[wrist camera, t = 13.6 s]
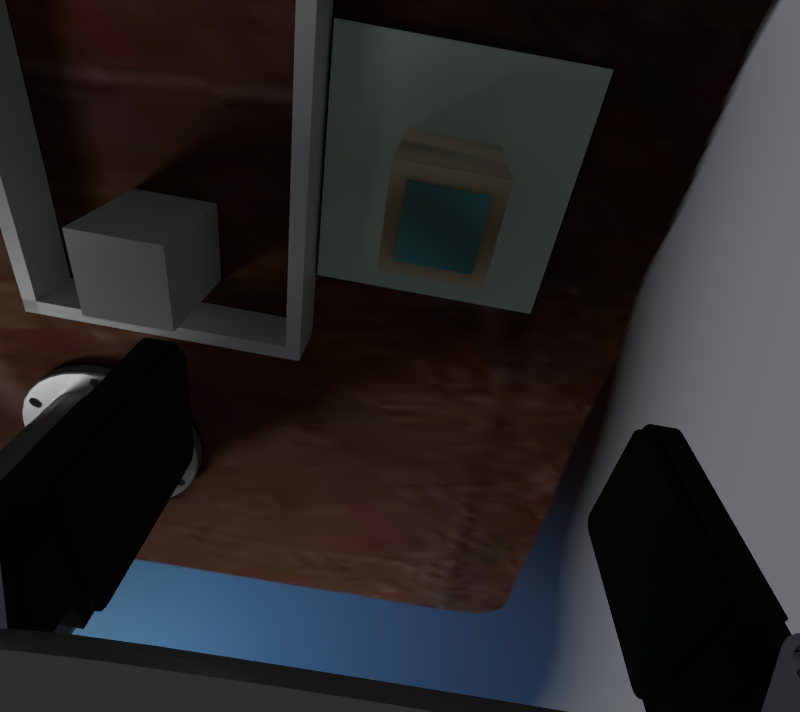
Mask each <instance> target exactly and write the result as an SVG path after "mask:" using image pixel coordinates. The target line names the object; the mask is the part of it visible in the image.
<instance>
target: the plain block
mask: <svg viewBox="0 0 800 712" xmlns="http://www.w3.org/2000/svg"><path fill="white" fill-rule="evenodd" d="M62 230H63V234H64V239H65V243H66V247H67V251H68V256H69V260H70V264H71V268H72V273H73V277H74V281H75V285H76V290H77V294H78V298H79V302H80V307H81V311H82V315H83V316H86V317H92V318H98V319H103V320H109V321H114V322H120V323H126V324H131V325H137V326H142V327H148V328H153V329H159V330H165V331H170V332H174V331H175V330H176V329H177V328H178V327H179V326H180V325H181V324H182V322H183V321H184V320H185V319H186V318H187V317H188V316H189V315H190V313H191V312H192V311H193V310H194V309H195V308H196V307H197V306H198V305H199V303H200V302H201V301H202V300H203V299H204V298H205V297H206V296H207V295H208V293H209V292H210V291H211V290H212V289H213V288H214V287H215V286H216V284H217V283H218V282H219V281H220V280H221V268H220V250H219V232H218V214H217V204H216V203H211V202H205V201H200V200H194V199H188V198H183V197H177V196H172V195H166V194H161V193H155V192H150V191H144V190H138V189H132V190H130V191H129V192H127V193H125V194H123V195H121V196H119V197H118V198H116V199H114V200H112V201H110V202H108V203H106V204H105V205H103V206H101V207H99V208H97V209H95V210H93V211H92V212H90V213H88V214H86V215H84V216H82V217H81V218H79V219H77V220H75V221H73V222H71V223H69V224H68V225H66V226H64V227H62Z"/></svg>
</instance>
